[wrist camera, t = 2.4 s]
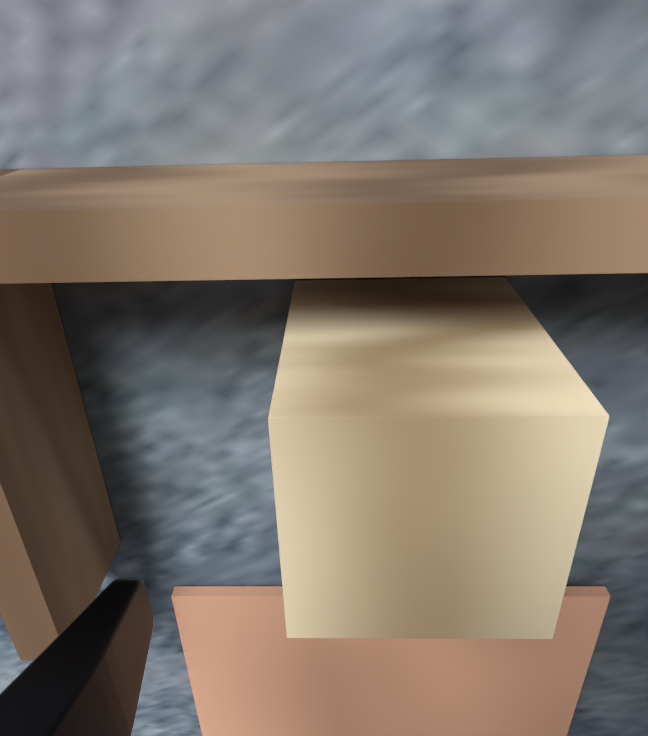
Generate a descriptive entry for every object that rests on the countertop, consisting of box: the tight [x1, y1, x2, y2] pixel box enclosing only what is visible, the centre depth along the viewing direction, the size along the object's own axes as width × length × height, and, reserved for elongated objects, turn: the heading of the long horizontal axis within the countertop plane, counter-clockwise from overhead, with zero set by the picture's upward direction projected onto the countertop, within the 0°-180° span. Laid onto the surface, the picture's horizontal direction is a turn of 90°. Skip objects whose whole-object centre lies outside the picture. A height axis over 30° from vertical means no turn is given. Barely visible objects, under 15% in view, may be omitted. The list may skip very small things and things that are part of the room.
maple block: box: [268, 277, 609, 639], centre depth 12 cm, size 5×5×6 cm
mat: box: [171, 586, 610, 736], centre depth 22 cm, size 14×14×1 cm
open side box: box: [0, 155, 648, 660], centre depth 13 cm, size 19×11×4 cm, turn 91°
